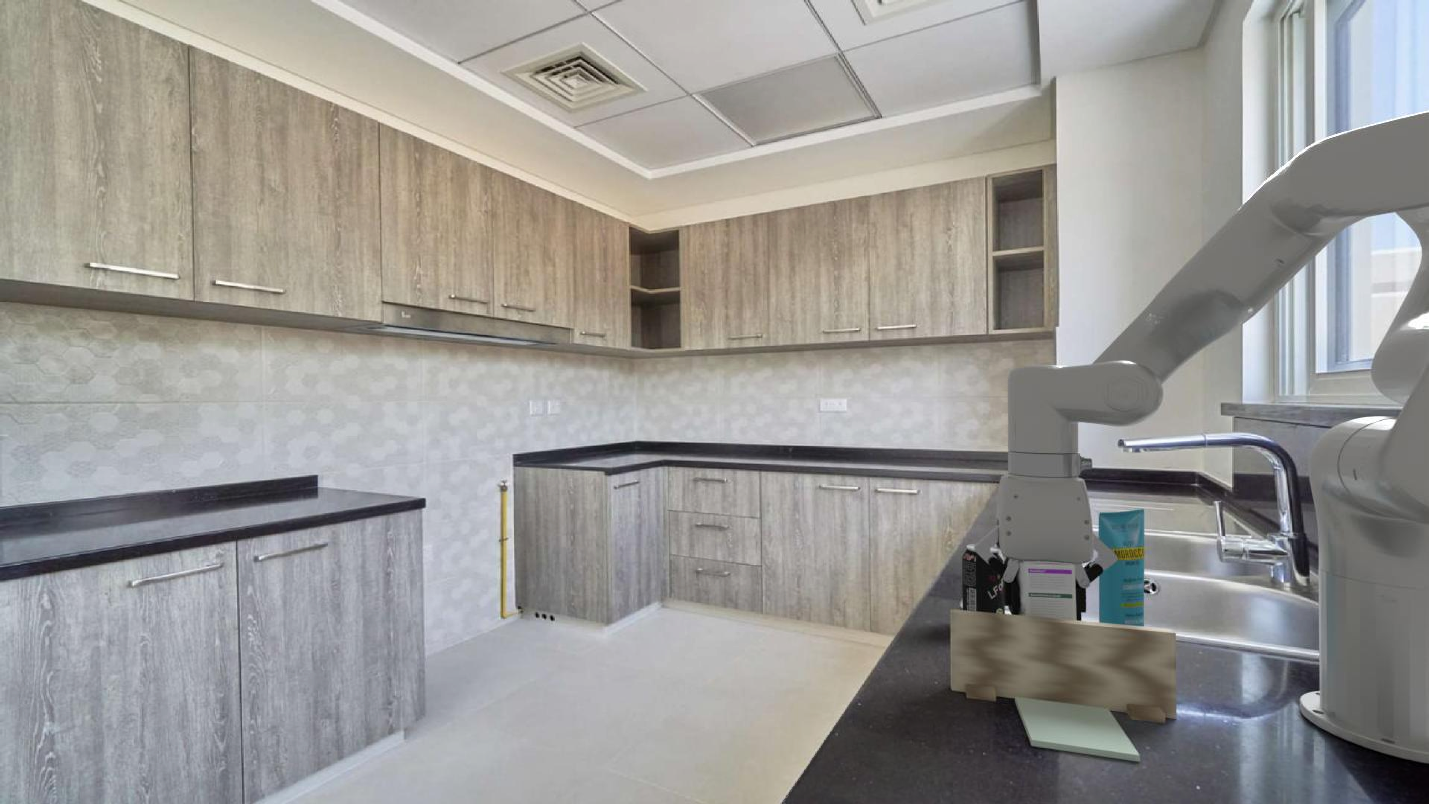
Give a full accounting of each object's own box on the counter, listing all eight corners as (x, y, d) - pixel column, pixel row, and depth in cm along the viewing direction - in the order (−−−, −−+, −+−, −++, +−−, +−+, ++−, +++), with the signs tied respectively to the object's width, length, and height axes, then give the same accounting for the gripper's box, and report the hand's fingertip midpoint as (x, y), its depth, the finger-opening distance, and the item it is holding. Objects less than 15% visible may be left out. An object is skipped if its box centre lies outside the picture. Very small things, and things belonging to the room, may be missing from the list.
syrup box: (1080, 689, 70) (1079, 564, 70) (1024, 684, 71) (1024, 561, 71) (1062, 668, 75) (1061, 552, 76) (1011, 664, 77) (1010, 550, 77)
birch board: (1166, 707, 66) (1165, 624, 66) (1182, 725, 62) (1181, 638, 62) (950, 680, 72) (949, 605, 72) (952, 695, 68) (952, 616, 68)
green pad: (1108, 714, 64) (1108, 708, 64) (1139, 761, 56) (1139, 755, 56) (1015, 702, 67) (1015, 696, 67) (1031, 745, 58) (1031, 739, 58)
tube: (1120, 669, 75) (1119, 515, 75) (1084, 654, 80) (1083, 508, 80) (1160, 659, 78) (1158, 511, 78) (1122, 646, 82) (1121, 505, 82)
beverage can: (1003, 624, 91) (1003, 544, 91) (1006, 638, 85) (1005, 553, 85) (962, 619, 93) (962, 541, 93) (962, 632, 87) (961, 549, 88)
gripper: (1113, 465, 74) (1114, 611, 74) (963, 462, 80) (964, 599, 79) (1136, 472, 67) (1137, 634, 67) (969, 468, 72) (970, 618, 72)
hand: (1043, 613), depth 73 cm, fingers closed on syrup box, 6 cm apart
